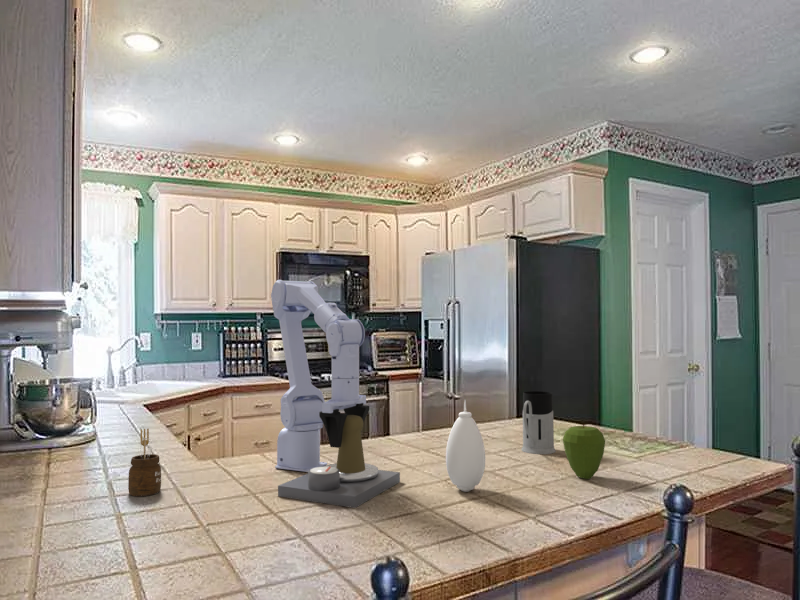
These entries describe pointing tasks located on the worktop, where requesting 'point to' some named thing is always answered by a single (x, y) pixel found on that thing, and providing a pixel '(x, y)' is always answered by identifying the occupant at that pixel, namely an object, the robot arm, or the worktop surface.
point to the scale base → (336, 487)
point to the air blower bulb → (465, 453)
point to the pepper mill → (351, 446)
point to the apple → (584, 450)
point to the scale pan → (358, 474)
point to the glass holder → (538, 423)
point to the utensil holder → (144, 471)
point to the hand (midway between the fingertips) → (345, 443)
